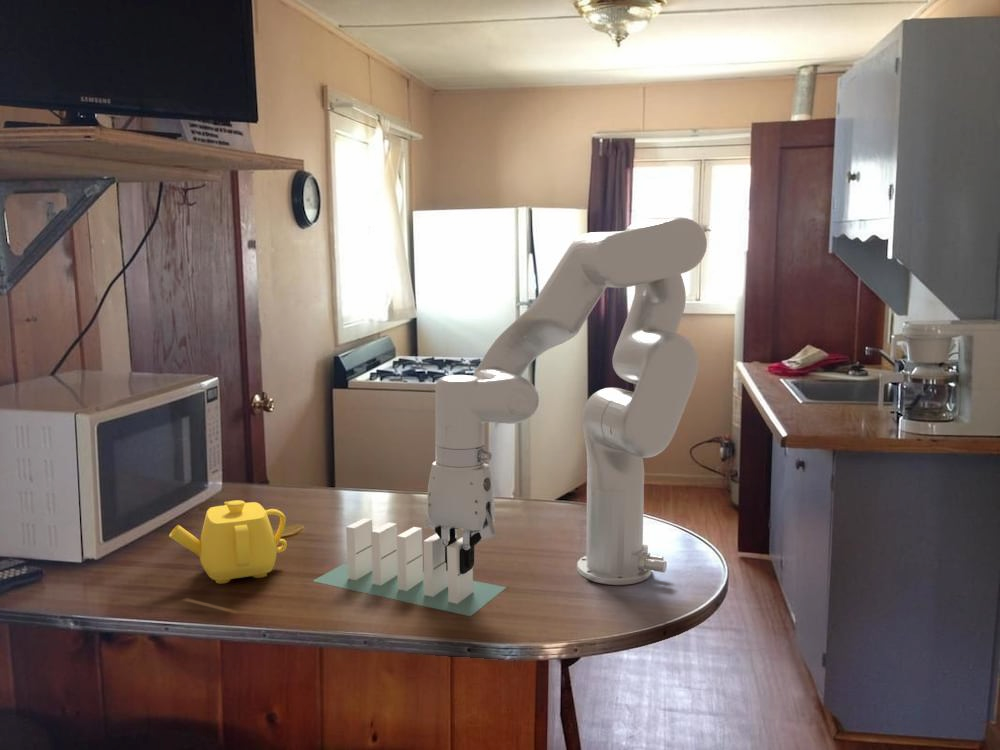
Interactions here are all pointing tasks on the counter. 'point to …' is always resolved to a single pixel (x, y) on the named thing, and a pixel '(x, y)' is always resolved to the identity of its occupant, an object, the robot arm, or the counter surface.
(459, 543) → the domino
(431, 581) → the domino
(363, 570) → the domino
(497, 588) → the runner mat
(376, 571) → the domino
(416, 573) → the domino
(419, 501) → the counter surface
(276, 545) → the teapot
